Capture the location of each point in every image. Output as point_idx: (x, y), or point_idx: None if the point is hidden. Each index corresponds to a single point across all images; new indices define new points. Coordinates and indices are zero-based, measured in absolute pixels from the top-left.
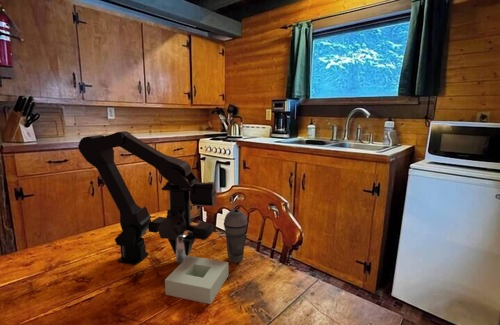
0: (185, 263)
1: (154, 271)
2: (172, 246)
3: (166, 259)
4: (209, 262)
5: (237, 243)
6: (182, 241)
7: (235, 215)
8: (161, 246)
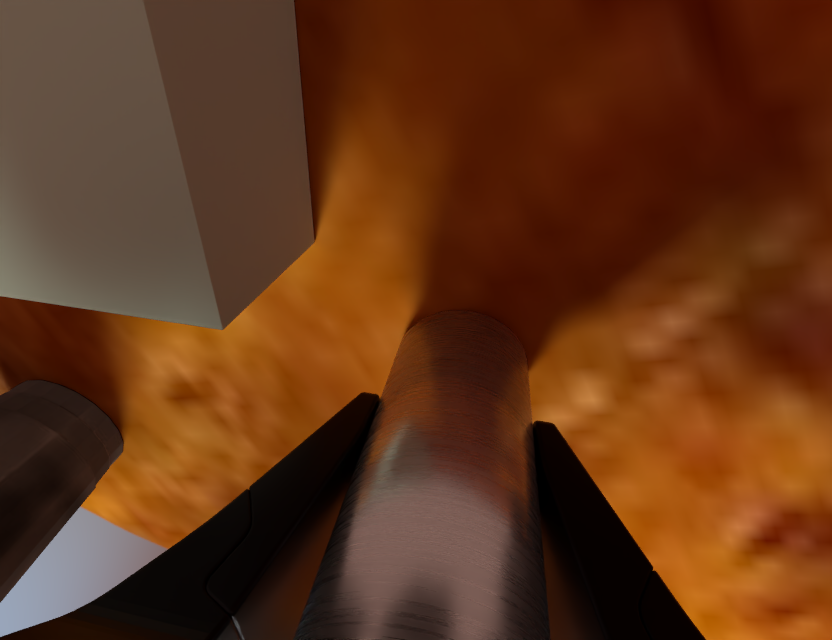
0: (67, 38)
1: (785, 69)
2: (600, 523)
3: (662, 373)
4: None
5: None
6: (325, 630)
7: None
8: (787, 563)
